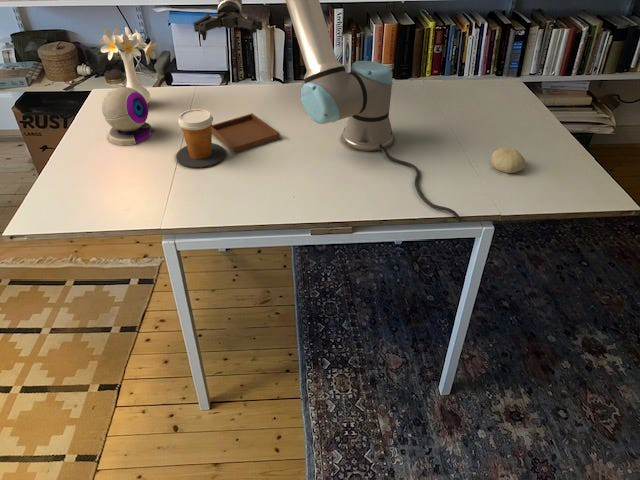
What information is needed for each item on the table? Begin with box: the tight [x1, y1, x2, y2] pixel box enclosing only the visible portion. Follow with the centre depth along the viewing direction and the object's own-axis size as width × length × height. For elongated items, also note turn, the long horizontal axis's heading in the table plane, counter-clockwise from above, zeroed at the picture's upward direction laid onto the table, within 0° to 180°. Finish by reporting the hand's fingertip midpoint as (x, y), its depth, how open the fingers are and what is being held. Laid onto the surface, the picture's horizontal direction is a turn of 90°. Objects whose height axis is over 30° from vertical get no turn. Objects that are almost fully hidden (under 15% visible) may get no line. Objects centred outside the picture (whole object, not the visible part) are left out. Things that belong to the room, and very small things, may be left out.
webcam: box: [101, 86, 154, 146], centre depth 163 cm, size 13×13×15 cm
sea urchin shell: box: [490, 147, 526, 174], centre depth 153 cm, size 9×8×8 cm
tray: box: [212, 113, 281, 154], centre depth 167 cm, size 17×16×2 cm
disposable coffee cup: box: [177, 108, 214, 159], centre depth 154 cm, size 10×10×12 cm
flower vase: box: [98, 26, 159, 104], centre depth 175 cm, size 13×18×25 cm
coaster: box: [175, 142, 226, 169], centre depth 158 cm, size 14×14×1 cm
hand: (227, 34), depth 157 cm, fingers open, 13 cm apart
